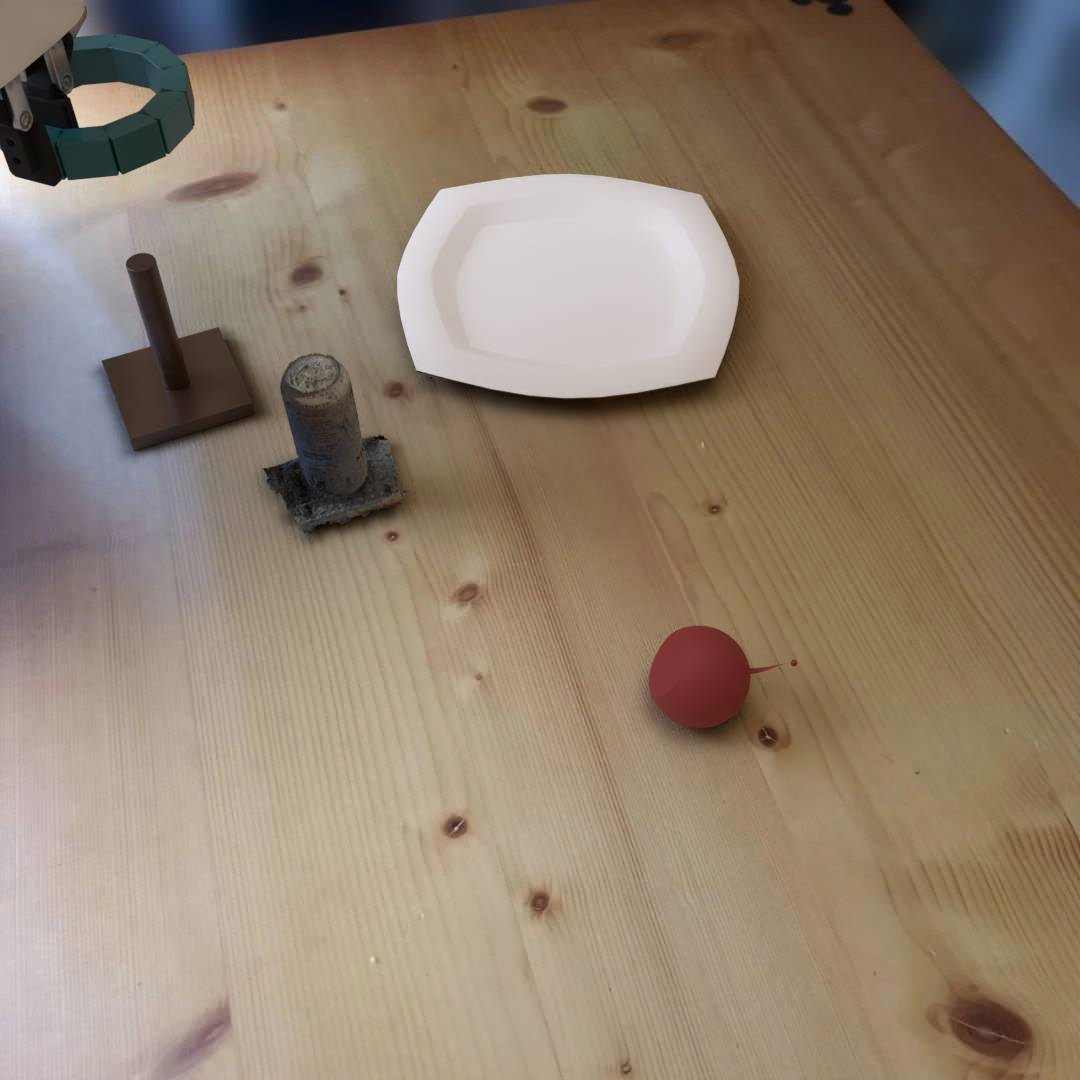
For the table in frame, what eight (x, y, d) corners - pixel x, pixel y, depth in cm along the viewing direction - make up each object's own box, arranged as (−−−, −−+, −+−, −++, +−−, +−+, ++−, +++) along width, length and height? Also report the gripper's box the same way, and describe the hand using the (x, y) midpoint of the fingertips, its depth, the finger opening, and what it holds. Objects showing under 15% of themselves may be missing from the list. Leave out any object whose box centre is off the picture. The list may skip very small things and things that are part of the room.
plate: (726, 195, 112) (729, 175, 111) (748, 420, 95) (751, 400, 94) (414, 189, 113) (413, 169, 111) (381, 411, 96) (378, 392, 94)
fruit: (714, 760, 80) (797, 708, 74) (636, 726, 78) (715, 670, 72) (719, 677, 83) (799, 621, 78) (645, 642, 82) (721, 583, 76)
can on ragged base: (308, 551, 87) (281, 426, 78) (261, 478, 91) (230, 351, 82) (427, 497, 90) (414, 371, 81) (376, 429, 94) (358, 301, 85)
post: (133, 451, 93) (88, 321, 84) (105, 371, 98) (59, 240, 89) (255, 414, 95) (224, 283, 86) (221, 338, 101) (188, 207, 91)
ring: (130, 197, 74) (119, 160, 72) (-42, 155, 77) (-56, 119, 75) (229, 90, 81) (221, 55, 79) (68, 55, 84) (58, 20, 82)
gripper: (-25, -238, 67) (73, 84, 82) (-245, -107, 58) (-91, 231, 72) (99, -216, 66) (177, 109, 80) (-107, -78, 56) (23, 262, 71)
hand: (49, 164), depth 76 cm, fingers closed on ring, 1 cm apart
